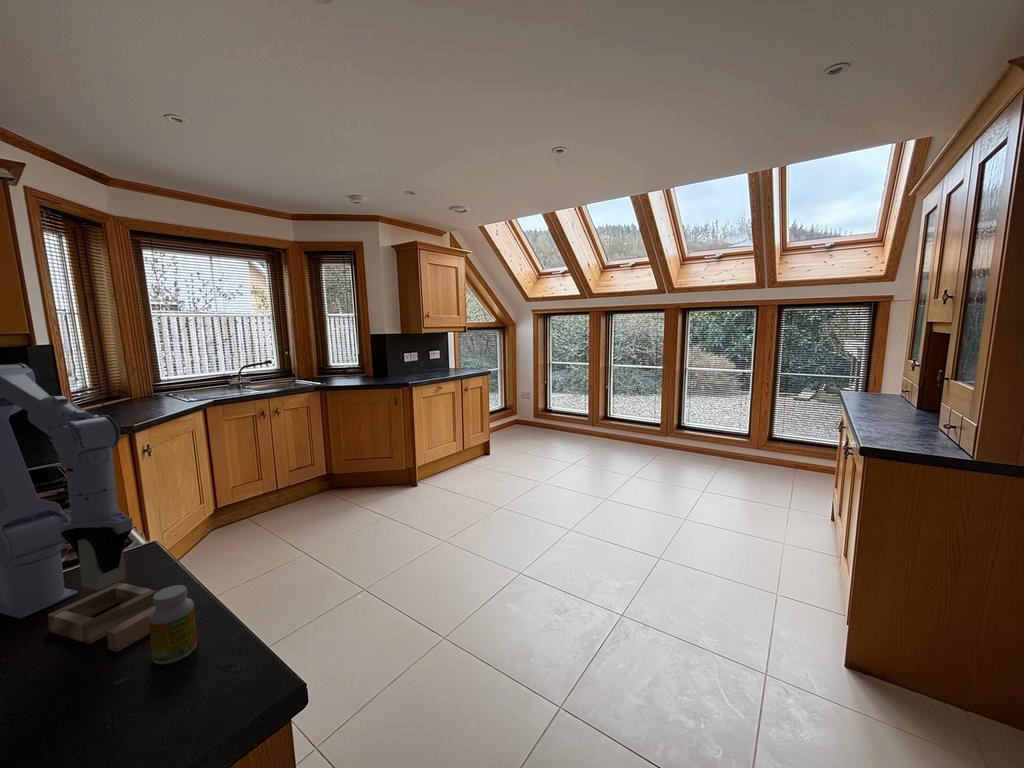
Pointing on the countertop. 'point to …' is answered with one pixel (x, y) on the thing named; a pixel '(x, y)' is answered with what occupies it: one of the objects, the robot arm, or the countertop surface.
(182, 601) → the supplement bottle
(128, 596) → the collar block
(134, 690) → the countertop surface
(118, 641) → the stop wall
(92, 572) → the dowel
